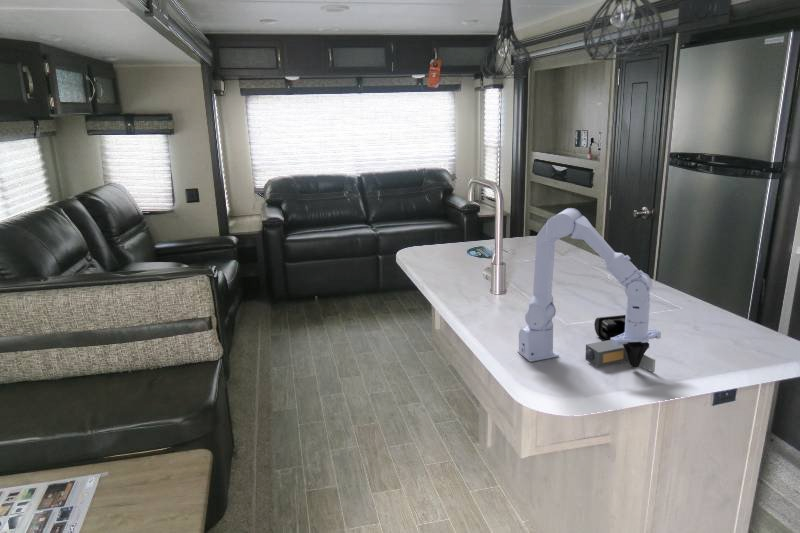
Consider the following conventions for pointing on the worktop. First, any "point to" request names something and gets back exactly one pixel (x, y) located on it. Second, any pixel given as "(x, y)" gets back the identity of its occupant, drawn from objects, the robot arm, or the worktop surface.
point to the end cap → (609, 326)
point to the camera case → (605, 353)
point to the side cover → (648, 363)
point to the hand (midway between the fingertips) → (634, 366)
